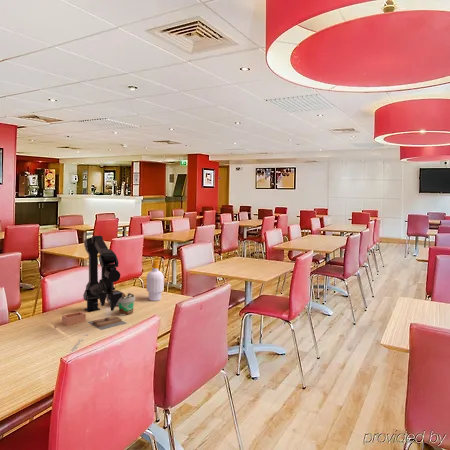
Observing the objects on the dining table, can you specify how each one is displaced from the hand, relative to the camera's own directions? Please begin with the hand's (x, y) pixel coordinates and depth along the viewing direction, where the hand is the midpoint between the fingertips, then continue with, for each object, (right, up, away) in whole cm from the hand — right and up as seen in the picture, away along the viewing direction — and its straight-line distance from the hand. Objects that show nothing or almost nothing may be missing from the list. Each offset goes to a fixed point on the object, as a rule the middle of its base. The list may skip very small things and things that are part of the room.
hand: (107, 308), depth 196 cm
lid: (0, -7, +1) cm, 7 cm away
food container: (+7, -7, +16) cm, 19 cm away
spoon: (-5, -11, -26) cm, 29 cm away
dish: (-16, -8, 0) cm, 18 cm away
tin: (-4, -5, +31) cm, 32 cm away
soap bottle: (+16, -4, +45) cm, 48 cm away
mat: (0, -8, +1) cm, 8 cm away
